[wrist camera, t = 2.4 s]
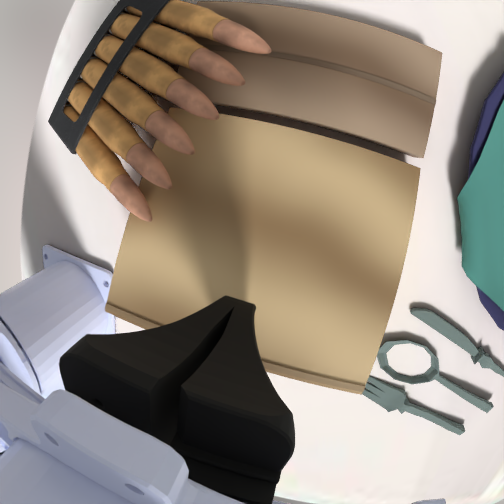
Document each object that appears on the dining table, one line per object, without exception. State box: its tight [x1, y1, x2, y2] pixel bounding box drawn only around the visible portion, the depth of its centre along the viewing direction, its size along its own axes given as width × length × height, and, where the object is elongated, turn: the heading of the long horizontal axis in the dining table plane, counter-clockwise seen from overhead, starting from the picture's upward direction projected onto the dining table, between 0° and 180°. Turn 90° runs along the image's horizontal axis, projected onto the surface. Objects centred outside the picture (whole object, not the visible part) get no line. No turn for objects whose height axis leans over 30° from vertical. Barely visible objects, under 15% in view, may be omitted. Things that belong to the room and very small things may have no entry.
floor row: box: [177, 1, 442, 158], centre depth 13 cm, size 6×13×2 cm, turn 78°
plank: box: [105, 107, 420, 394], centre depth 14 cm, size 11×13×2 cm
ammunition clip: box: [48, 0, 271, 222], centre depth 13 cm, size 11×2×12 cm
